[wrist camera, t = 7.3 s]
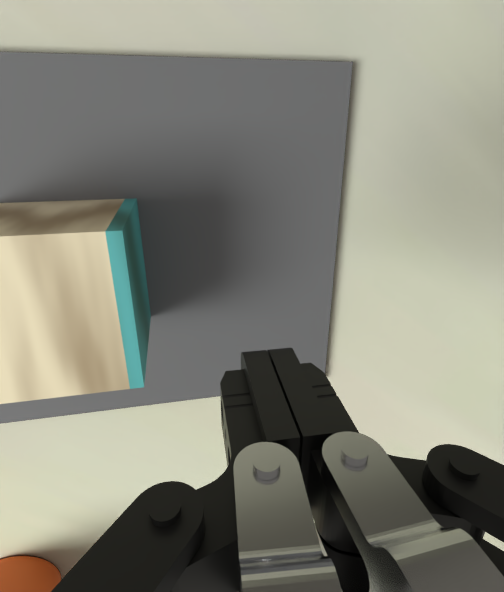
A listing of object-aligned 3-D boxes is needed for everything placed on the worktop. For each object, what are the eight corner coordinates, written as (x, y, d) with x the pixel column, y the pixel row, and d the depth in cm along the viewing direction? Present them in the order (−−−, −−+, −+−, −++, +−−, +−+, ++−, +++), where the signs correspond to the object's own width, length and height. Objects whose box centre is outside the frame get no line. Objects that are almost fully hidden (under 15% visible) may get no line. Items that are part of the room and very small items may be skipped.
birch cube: (122, 230, 14) (-95, 241, 13) (144, 387, 17) (-33, 407, 16) (136, 198, 20) (-9, 203, 19) (150, 316, 23) (24, 327, 22)
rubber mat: (347, 63, 20) (352, 61, 20) (321, 378, 28) (324, 383, 28) (-278, 46, 16) (-294, 43, 15) (-97, 429, 24) (-103, 436, 23)
